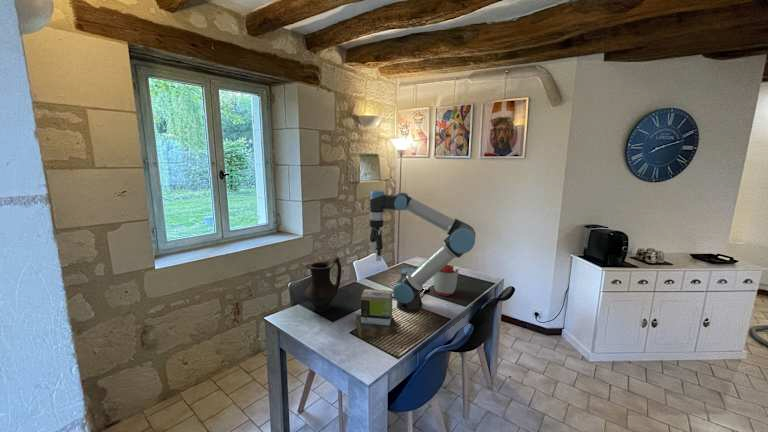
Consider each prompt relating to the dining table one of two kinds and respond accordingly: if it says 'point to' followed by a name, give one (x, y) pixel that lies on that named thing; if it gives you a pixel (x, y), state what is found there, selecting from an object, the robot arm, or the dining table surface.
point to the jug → (322, 284)
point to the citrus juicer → (445, 281)
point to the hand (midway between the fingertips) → (375, 256)
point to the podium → (375, 328)
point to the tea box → (376, 307)
